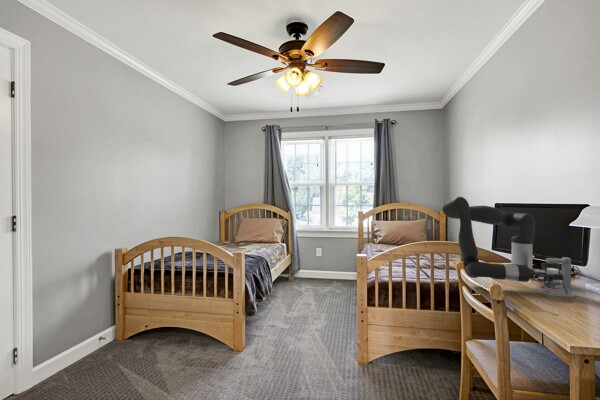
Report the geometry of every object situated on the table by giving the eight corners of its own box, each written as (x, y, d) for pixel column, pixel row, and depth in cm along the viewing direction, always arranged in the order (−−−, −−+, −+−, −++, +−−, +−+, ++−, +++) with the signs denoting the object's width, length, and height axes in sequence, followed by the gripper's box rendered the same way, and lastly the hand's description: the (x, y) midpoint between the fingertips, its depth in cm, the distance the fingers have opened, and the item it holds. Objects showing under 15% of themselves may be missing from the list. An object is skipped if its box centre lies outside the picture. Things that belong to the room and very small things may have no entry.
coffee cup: (566, 285, 145) (566, 264, 144) (548, 285, 145) (549, 264, 145) (552, 281, 153) (552, 261, 152) (535, 280, 153) (536, 261, 153)
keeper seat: (536, 288, 141) (536, 254, 141) (562, 290, 138) (563, 255, 138) (547, 295, 132) (547, 259, 131) (575, 297, 129) (575, 260, 128)
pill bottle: (543, 286, 139) (544, 267, 139) (558, 288, 136) (558, 268, 136) (545, 289, 134) (546, 269, 134) (561, 291, 132) (561, 271, 131)
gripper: (521, 268, 132) (568, 271, 127) (509, 261, 146) (551, 263, 141) (521, 285, 132) (568, 289, 127) (509, 276, 146) (551, 279, 141)
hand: (559, 275), depth 134 cm, fingers closed on pill bottle, 5 cm apart
